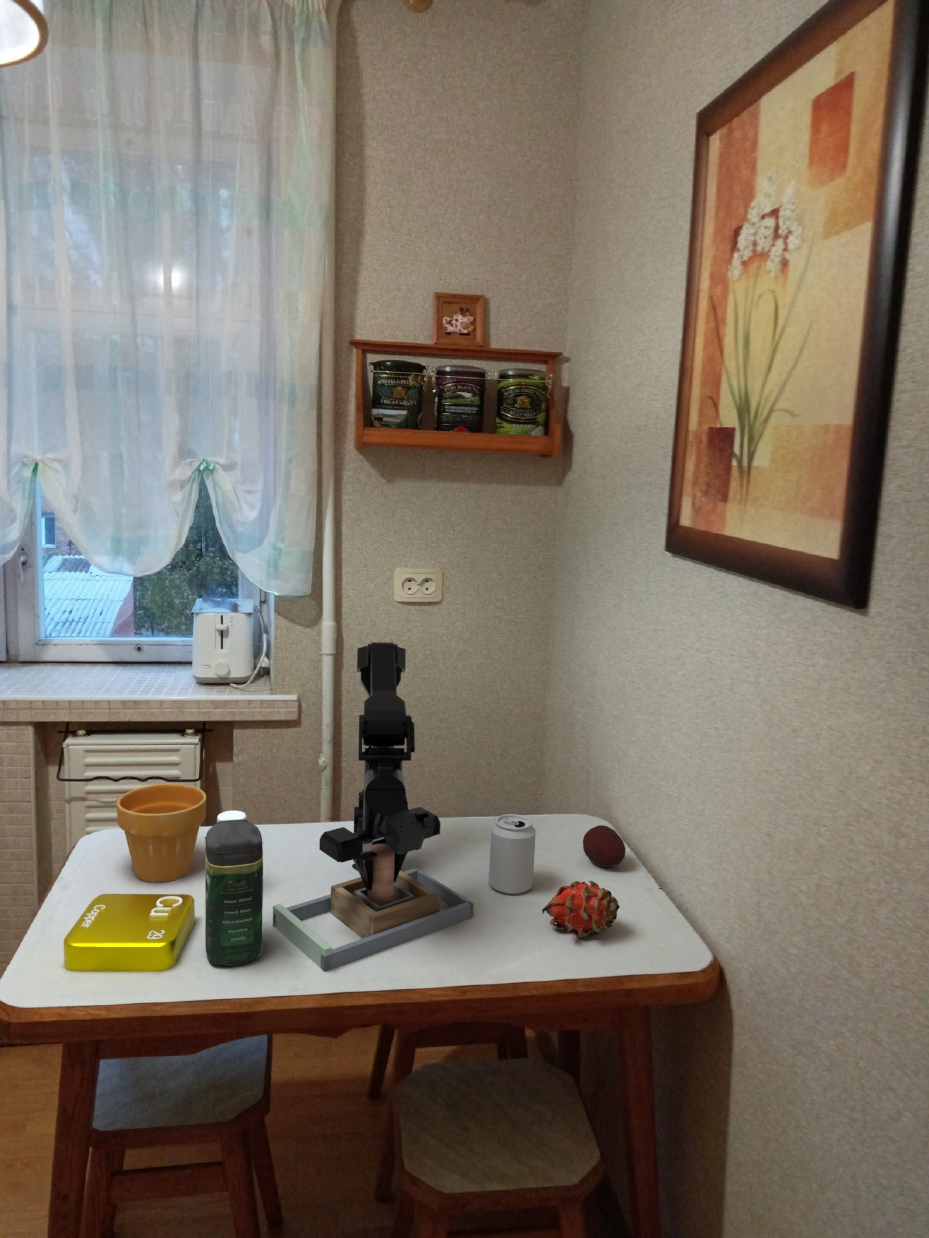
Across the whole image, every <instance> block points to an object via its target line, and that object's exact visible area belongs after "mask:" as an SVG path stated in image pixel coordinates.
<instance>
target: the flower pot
mask: <svg viewBox="0 0 929 1238" xmlns="http://www.w3.org/2000/svg"><path fill="white" fill-rule="evenodd" d="M116 816H117V819H116V820H117V824H118V827H119V828H120V829H121V830H122V831H124V835H125V840H126V844H127V847H128V851H129V855H130V856H129V857H130V860H131V862H132V863H131V864H132V867H133V871H134V874H135V876H136V877H137V878H138V879H139V880H143V881H144V882H151V883H162V882H171V881H174V880H177V879H180V878H183V877H184V876H186V875H187V874H188V873H189V871H190V869H191V865H192V860H193V857H194V853H195V848H196V844H197V841H198V839H197V838H198V835H199V830H200V826H201V825H202V824H203V822H204V821H205V820H206V818H207V817H206V816H207V795H206V792H204V791H203V790H202V789H201V788H199V787H196V786H193V785H188V784H182V783H181V784H180V783H162V784H161V783H158V784H151V785H146V786H143V787H138V788H133V789H132V790H129V791H127V792H125V793H123V794H122V795H121V796H120V797H119V798H118V799H117V801H116Z"/></svg>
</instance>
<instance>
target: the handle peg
mask: <svg viewBox="0 0 929 1238" xmlns="http://www.w3.org/2000/svg"><path fill="white" fill-rule="evenodd" d="M372 851H373V852H375V853H376V854H378V855H377V857H376V858H375V859H374V860H373V884H372V890H371V891H369V890H368V898H369V899H371V900H372V901H374V902H375V903H376V904H378V905H379V906H381V905H384V904H387V903H390V902H393V901H394V860H395V852H394V851H393V850H392V847H391V846H390V845H389V844H375V845H372Z"/></svg>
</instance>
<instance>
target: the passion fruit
mask: <svg viewBox="0 0 929 1238" xmlns="http://www.w3.org/2000/svg"><path fill="white" fill-rule="evenodd" d="M582 847H583V848H582V849H583V853H584V854H585V856H586V857H587V858H588V859H589V860H590V861H591V862H593V863H595V864H596V865H598V866H601V867H604V868H614V867H617V866H618V865H619V866H620V864H621V863H622V862H623V860H624V859H625V857H626V846H625V843H624V840H623V839H622V838H621V837H620V835H619V834H618V832H617V831H616V830H615V829H613V828H612V827H609V826H607V825H603V824H602V825H596V826H594V827H592V828H589V830H587V831H586V833H584V835H583V839H582Z"/></svg>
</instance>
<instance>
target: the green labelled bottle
mask: <svg viewBox="0 0 929 1238" xmlns="http://www.w3.org/2000/svg"><path fill="white" fill-rule="evenodd" d="M204 841H205V842H204V843H205V848H204V849H205V850H204V852H205V853H204V854H205V857H204V858H205V859H204V860H205V863H204V864H205V869H204V871H205V873H204V875H205V879H204V880H205V881H204V882H205V885H204V886H205V887H204V888H205V893H204V894H205V896H204V897H205V898H204V900H205V904H204V905H205V921H204V922H205V923H204V924H205V925H204V929H205V931H204V932H205V934H204V935H205V936H204V937H205V941H204V942H205V943H204V944H205V953H206V956H207V958H208V960H209V962H211V963H212V964H215V965H222V966H228V967H229V966H230V967H231V966H240V965H243V964H246V963H248V962H251V961H254V960H255V959H258V958H259V956H260V955H261V953H262V949H263V905H264V903H263V902H264V899H263V898H264V850H263V844H264V843H263V838H262V832H261V830H260V829H259V827H258V826H257V825H255V824H254V823H252V822H250V821H248V820H246V819H238V820H224V821H219V822H218V823H217V822H216V823H215V824H214V825H213V826H211V827H210V828H209V829H208V831H207V832H206V836H205V837H204Z"/></svg>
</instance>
